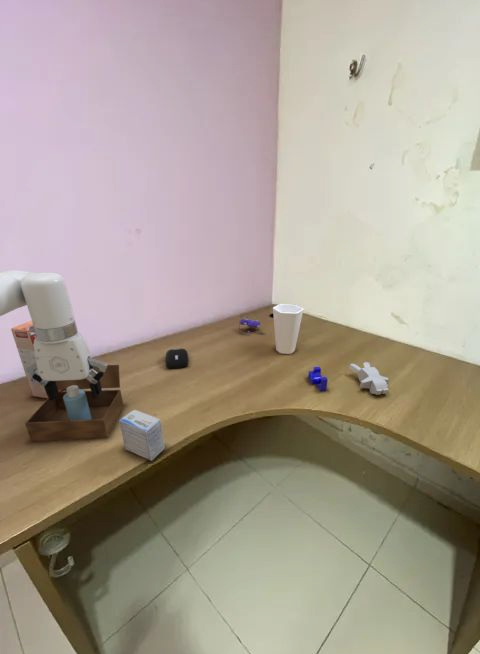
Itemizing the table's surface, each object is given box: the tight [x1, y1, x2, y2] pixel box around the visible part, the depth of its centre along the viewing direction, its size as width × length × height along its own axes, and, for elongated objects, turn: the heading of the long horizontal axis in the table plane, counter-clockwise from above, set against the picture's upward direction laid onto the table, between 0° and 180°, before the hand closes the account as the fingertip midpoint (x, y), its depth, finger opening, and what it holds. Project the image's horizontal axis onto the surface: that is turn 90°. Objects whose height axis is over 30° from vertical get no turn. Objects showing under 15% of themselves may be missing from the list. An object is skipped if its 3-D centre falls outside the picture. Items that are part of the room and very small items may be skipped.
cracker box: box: [10, 320, 62, 400], centre depth 88 cm, size 14×6×21 cm, turn 170°
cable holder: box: [307, 366, 329, 392], centre depth 98 cm, size 8×4×4 cm, turn 10°
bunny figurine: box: [348, 361, 390, 396], centre depth 99 cm, size 10×5×15 cm
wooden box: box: [25, 389, 124, 442], centre depth 77 cm, size 17×13×5 cm
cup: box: [272, 303, 304, 355], centre depth 117 cm, size 11×10×17 cm
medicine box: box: [119, 409, 166, 462], centre depth 69 cm, size 8×4×9 cm, turn 65°
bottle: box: [63, 385, 92, 421], centre depth 76 cm, size 5×5×10 cm
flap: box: [56, 364, 121, 391], centre depth 81 cm, size 16×6×1 cm
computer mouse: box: [165, 348, 189, 369], centre depth 109 cm, size 8×12×4 cm, turn 15°
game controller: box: [238, 315, 264, 335], centre depth 136 cm, size 10×8×10 cm
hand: (76, 396), depth 75 cm, fingers open, 9 cm apart
